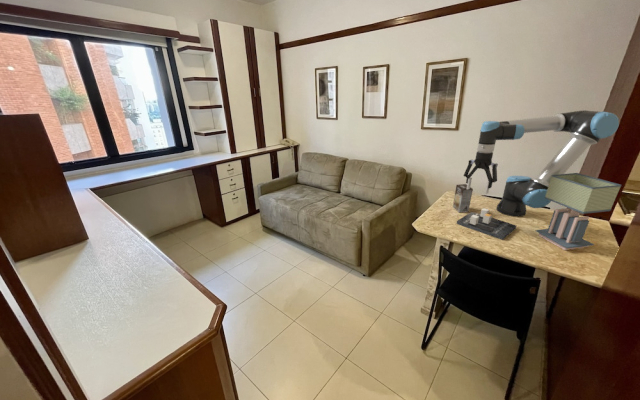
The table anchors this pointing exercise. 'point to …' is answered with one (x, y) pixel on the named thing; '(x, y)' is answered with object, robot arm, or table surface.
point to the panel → (488, 226)
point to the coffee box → (462, 198)
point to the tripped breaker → (487, 218)
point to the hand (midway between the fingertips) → (477, 191)
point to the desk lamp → (576, 207)
